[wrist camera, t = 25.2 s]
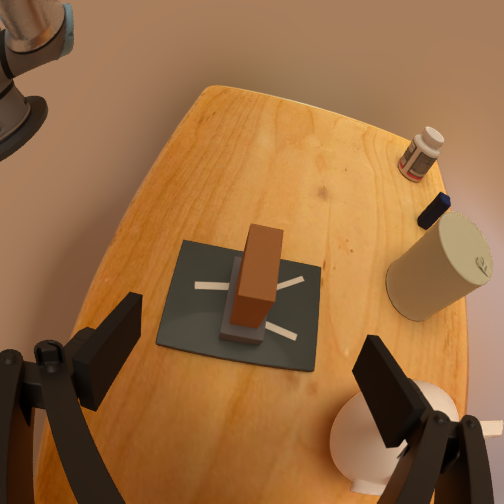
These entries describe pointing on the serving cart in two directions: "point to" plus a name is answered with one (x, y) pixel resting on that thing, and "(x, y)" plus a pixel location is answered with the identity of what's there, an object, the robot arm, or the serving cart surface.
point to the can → (439, 268)
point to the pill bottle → (421, 154)
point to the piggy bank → (380, 440)
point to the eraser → (434, 211)
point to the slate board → (213, 304)
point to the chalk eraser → (252, 286)
